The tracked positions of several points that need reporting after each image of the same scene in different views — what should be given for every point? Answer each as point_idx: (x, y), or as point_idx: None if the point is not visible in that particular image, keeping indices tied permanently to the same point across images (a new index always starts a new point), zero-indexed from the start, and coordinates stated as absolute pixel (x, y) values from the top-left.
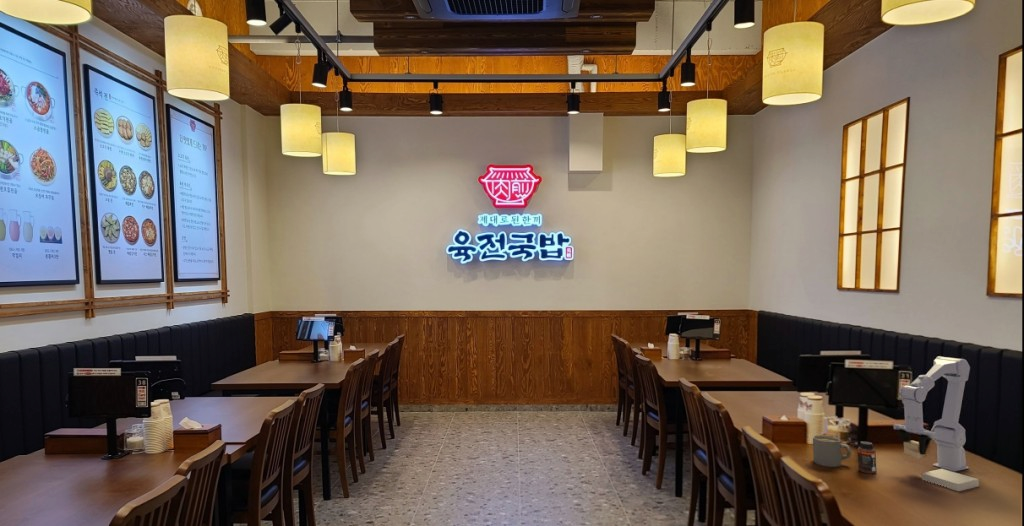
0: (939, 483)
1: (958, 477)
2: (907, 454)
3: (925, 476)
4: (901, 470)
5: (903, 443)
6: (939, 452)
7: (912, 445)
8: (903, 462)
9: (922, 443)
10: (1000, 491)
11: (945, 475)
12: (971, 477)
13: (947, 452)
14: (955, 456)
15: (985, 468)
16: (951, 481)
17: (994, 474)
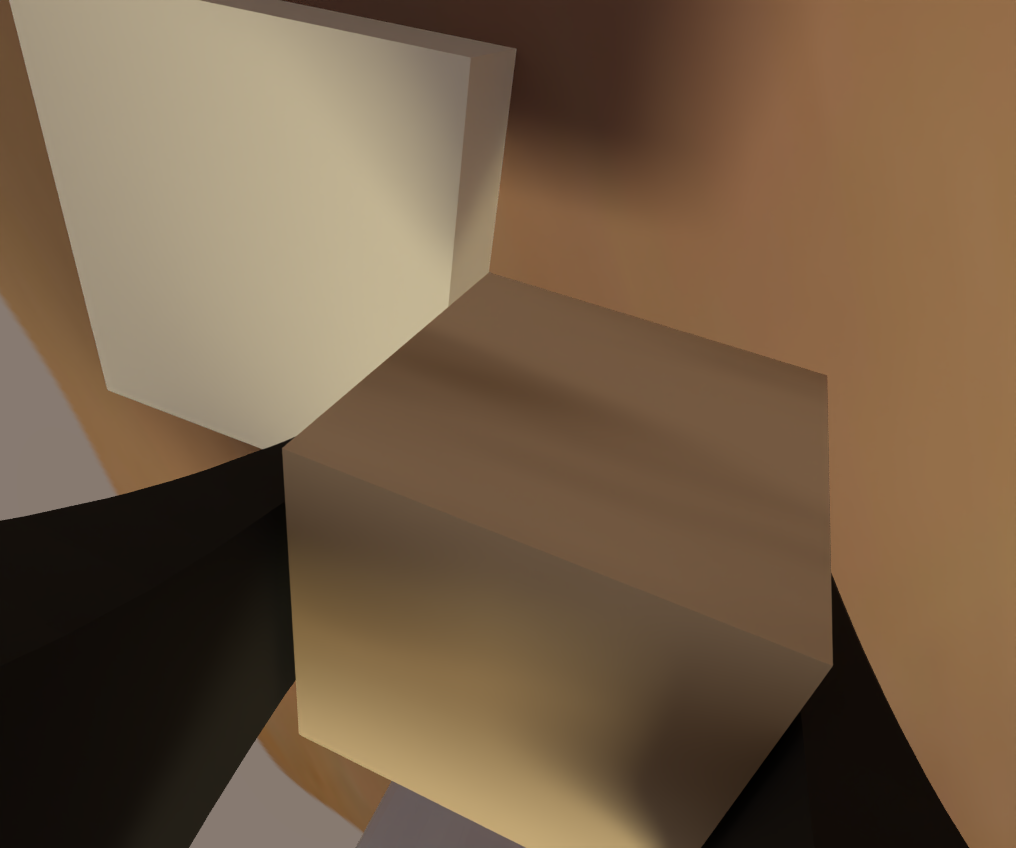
0: (272, 2)
1: (181, 293)
2: (730, 358)
3: (433, 45)
4: (896, 302)
5: (867, 690)
6: (517, 844)
7: (470, 482)
8: (933, 682)
9: (66, 517)
10: (48, 338)
11: (268, 250)
12: (152, 397)
13: (421, 828)
14: (390, 793)
15: (382, 790)
16: (91, 10)
17: (295, 702)
